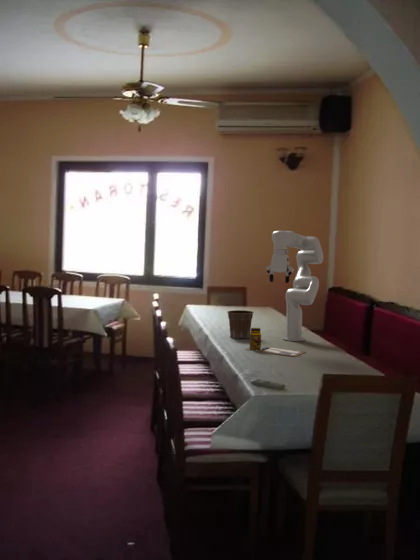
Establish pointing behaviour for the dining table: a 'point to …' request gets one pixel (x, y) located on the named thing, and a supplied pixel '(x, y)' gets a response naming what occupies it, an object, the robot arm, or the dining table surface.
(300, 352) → the clipboard
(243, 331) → the plant pot
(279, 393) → the dining table surface
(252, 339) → the condiment
